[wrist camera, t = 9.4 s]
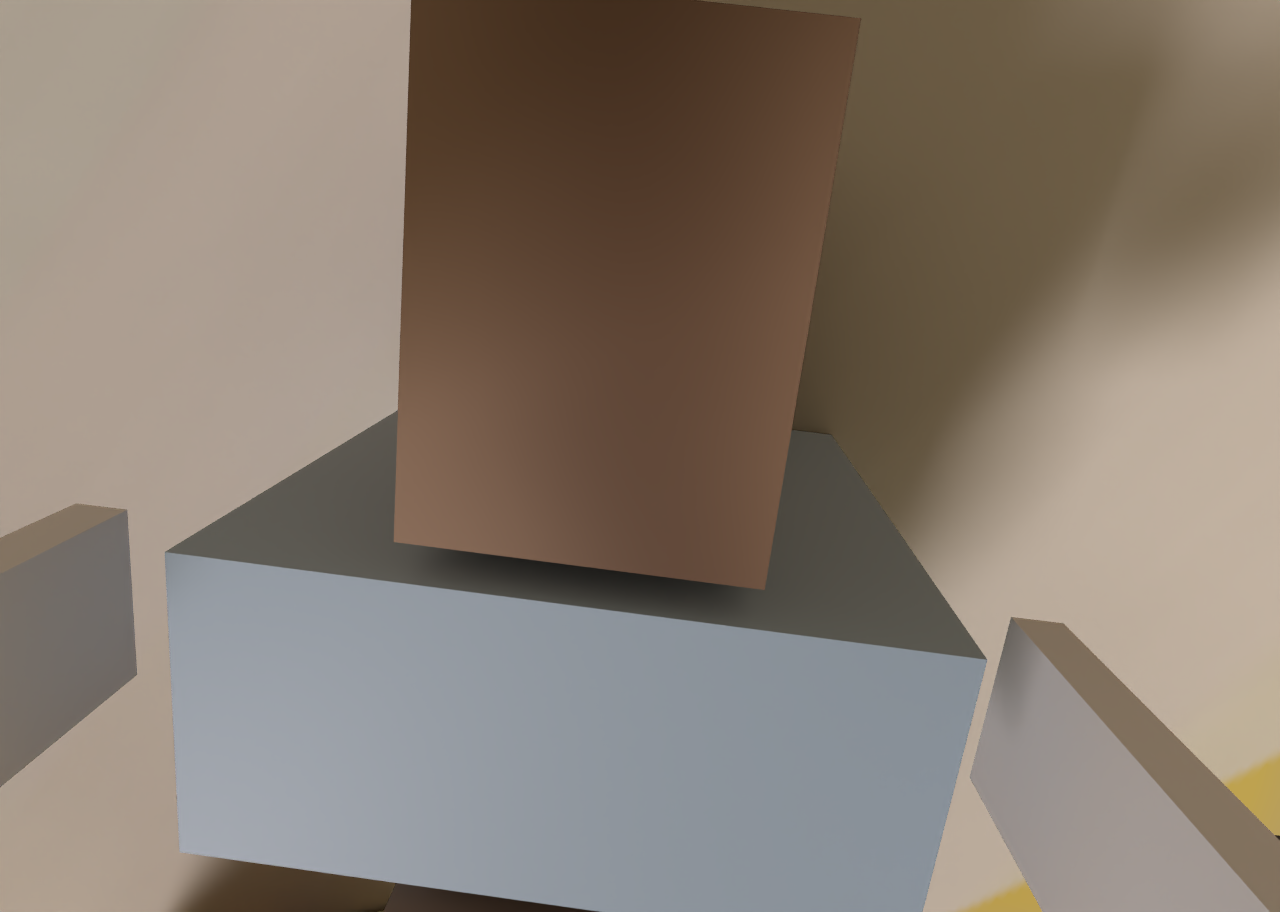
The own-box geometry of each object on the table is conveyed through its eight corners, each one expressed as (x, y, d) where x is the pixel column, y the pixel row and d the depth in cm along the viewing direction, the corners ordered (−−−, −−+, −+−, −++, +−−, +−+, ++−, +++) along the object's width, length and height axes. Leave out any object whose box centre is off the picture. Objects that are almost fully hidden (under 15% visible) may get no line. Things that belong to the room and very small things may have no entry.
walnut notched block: (516, 774, 21) (371, 1225, 12) (571, 119, 17) (412, -30, 7) (668, 795, 21) (650, 1268, 11) (763, 141, 17) (861, 17, 7)
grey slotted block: (430, 547, 20) (179, 852, 10) (437, 386, 19) (164, 552, 9) (801, 596, 19) (911, 955, 10) (831, 435, 18) (986, 659, 9)
